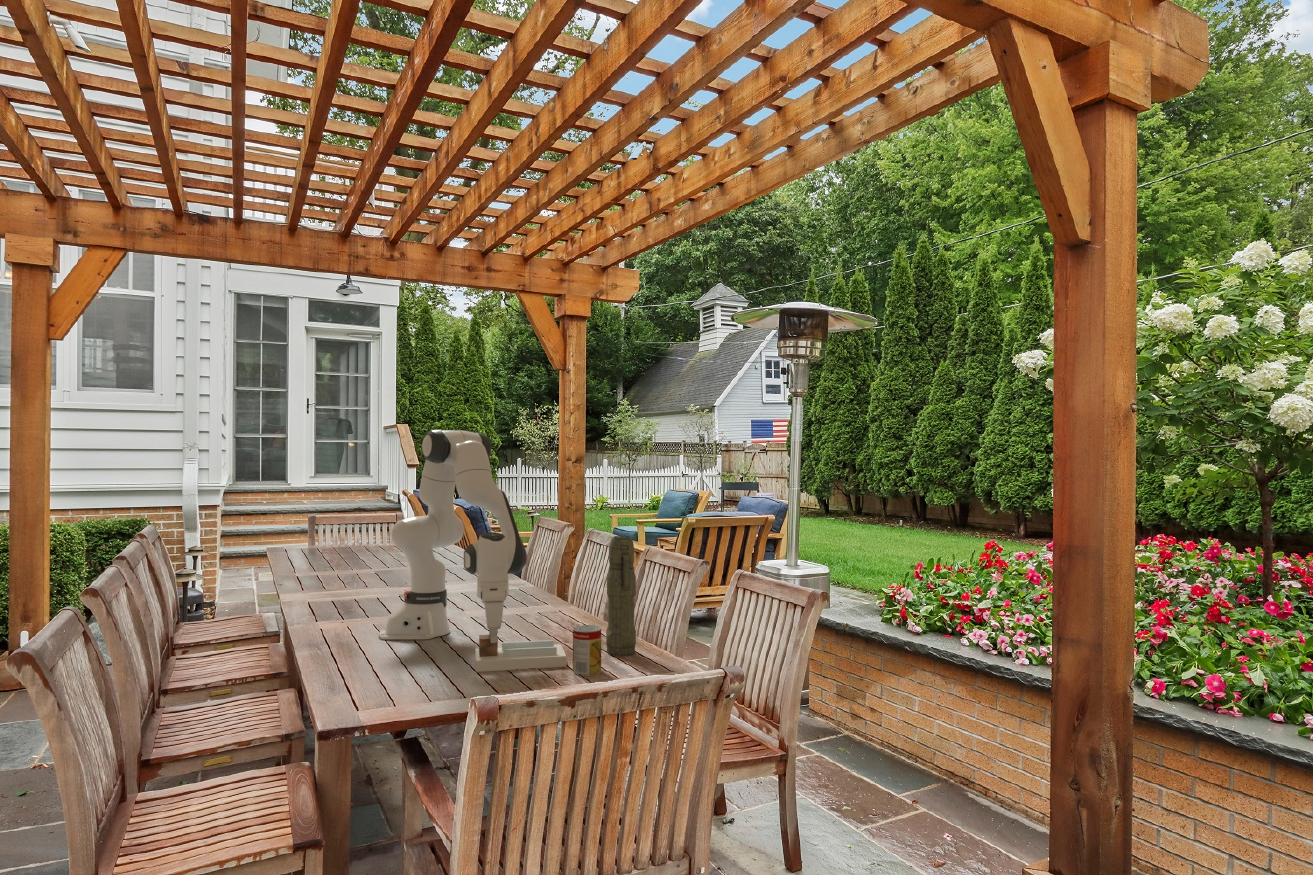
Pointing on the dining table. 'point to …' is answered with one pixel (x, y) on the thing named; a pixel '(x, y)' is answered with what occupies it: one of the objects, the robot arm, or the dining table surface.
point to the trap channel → (523, 656)
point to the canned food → (587, 650)
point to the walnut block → (487, 646)
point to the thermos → (621, 598)
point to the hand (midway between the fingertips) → (493, 638)
